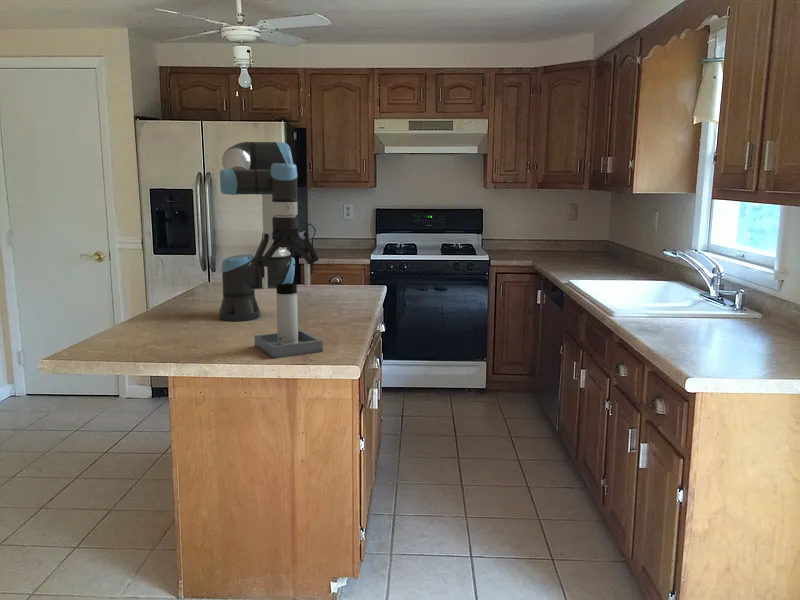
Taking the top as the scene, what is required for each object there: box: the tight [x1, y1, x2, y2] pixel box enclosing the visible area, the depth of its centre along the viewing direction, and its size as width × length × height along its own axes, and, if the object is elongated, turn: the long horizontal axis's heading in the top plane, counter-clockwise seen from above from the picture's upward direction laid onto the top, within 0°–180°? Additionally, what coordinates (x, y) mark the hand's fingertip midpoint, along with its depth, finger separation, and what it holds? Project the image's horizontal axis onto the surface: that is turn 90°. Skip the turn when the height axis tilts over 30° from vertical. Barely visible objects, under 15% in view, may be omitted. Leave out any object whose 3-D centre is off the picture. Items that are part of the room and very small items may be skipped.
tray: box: [254, 329, 324, 360], centre depth 202 cm, size 16×16×4 cm
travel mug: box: [275, 282, 299, 345], centre depth 200 cm, size 6×7×20 cm
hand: (286, 286), depth 199 cm, fingers open, 13 cm apart
